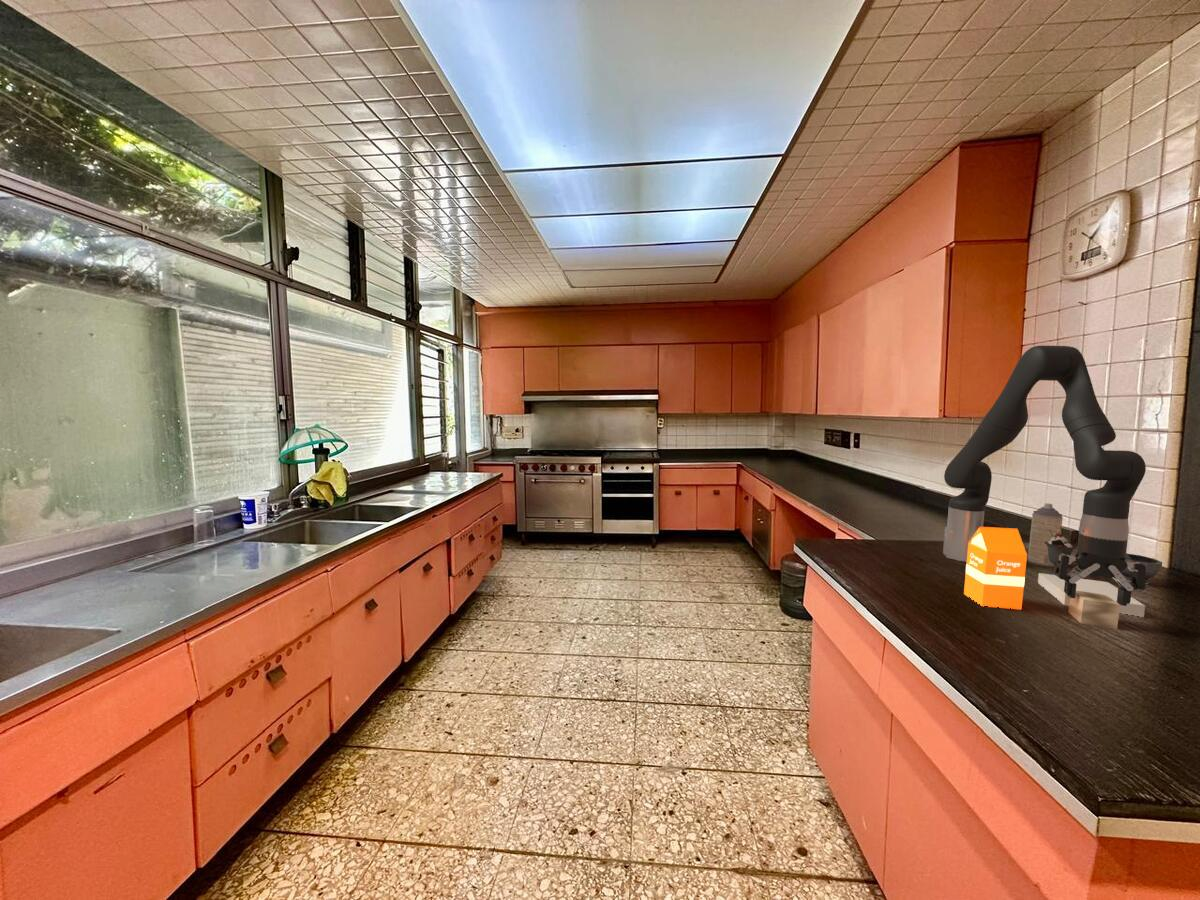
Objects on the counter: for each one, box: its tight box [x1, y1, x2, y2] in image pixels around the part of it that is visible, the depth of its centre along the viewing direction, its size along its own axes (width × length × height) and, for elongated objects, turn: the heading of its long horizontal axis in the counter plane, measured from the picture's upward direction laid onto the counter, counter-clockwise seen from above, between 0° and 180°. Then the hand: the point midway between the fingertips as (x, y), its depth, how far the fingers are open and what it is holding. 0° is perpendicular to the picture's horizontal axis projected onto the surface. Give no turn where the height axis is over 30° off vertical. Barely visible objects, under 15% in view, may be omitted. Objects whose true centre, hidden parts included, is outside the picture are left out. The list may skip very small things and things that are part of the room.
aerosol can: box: [1027, 502, 1064, 568], centre depth 140 cm, size 7×7×20 cm
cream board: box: [1037, 572, 1146, 618], centre depth 115 cm, size 14×16×3 cm
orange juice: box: [963, 526, 1028, 610], centre depth 113 cm, size 8×9×20 cm
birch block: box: [1068, 591, 1120, 630], centre depth 103 cm, size 6×6×6 cm
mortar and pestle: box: [1120, 552, 1163, 583], centre depth 127 cm, size 11×9×12 cm
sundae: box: [1044, 527, 1078, 575], centre depth 129 cm, size 7×7×15 cm
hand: (1095, 600), depth 103 cm, fingers open, 8 cm apart
